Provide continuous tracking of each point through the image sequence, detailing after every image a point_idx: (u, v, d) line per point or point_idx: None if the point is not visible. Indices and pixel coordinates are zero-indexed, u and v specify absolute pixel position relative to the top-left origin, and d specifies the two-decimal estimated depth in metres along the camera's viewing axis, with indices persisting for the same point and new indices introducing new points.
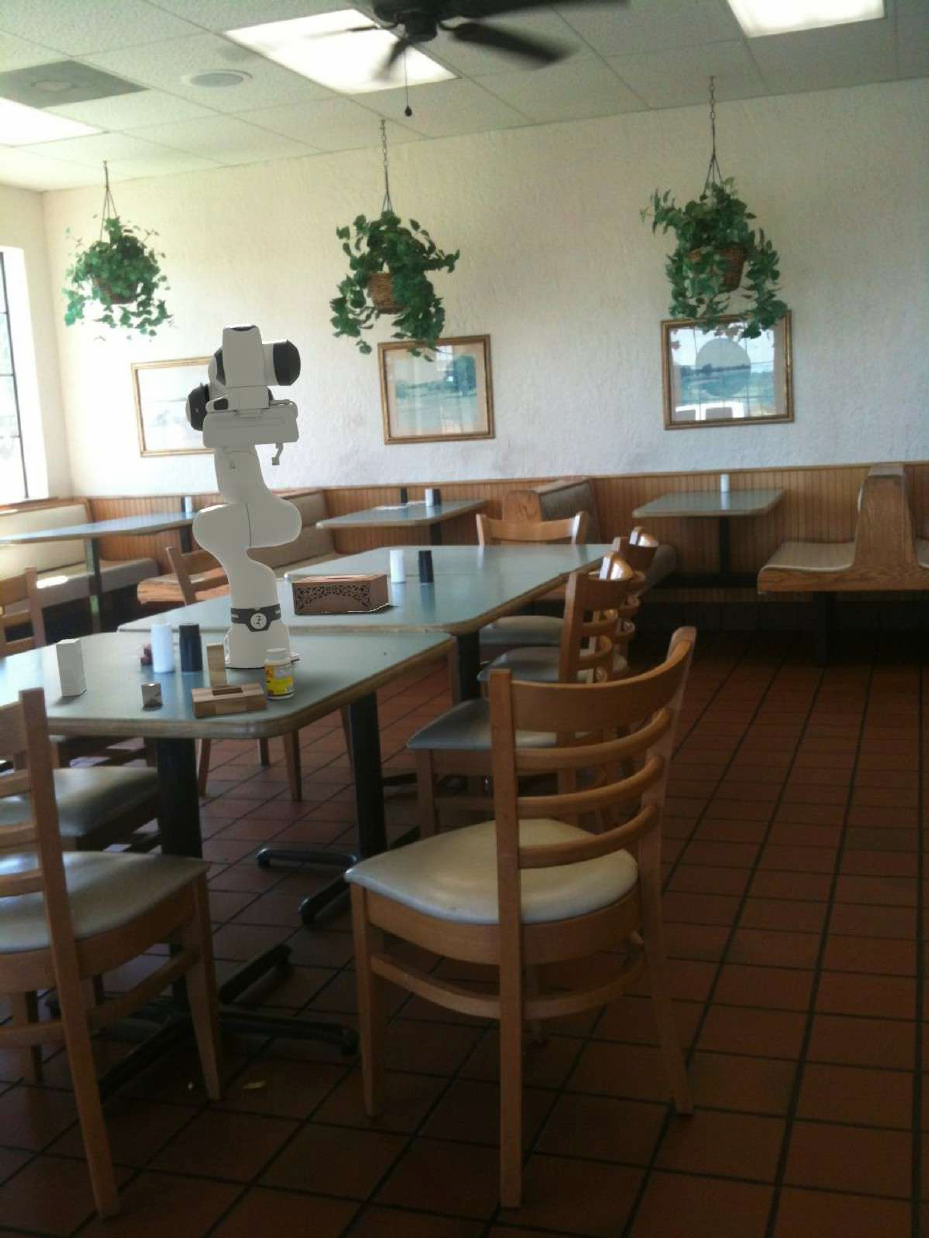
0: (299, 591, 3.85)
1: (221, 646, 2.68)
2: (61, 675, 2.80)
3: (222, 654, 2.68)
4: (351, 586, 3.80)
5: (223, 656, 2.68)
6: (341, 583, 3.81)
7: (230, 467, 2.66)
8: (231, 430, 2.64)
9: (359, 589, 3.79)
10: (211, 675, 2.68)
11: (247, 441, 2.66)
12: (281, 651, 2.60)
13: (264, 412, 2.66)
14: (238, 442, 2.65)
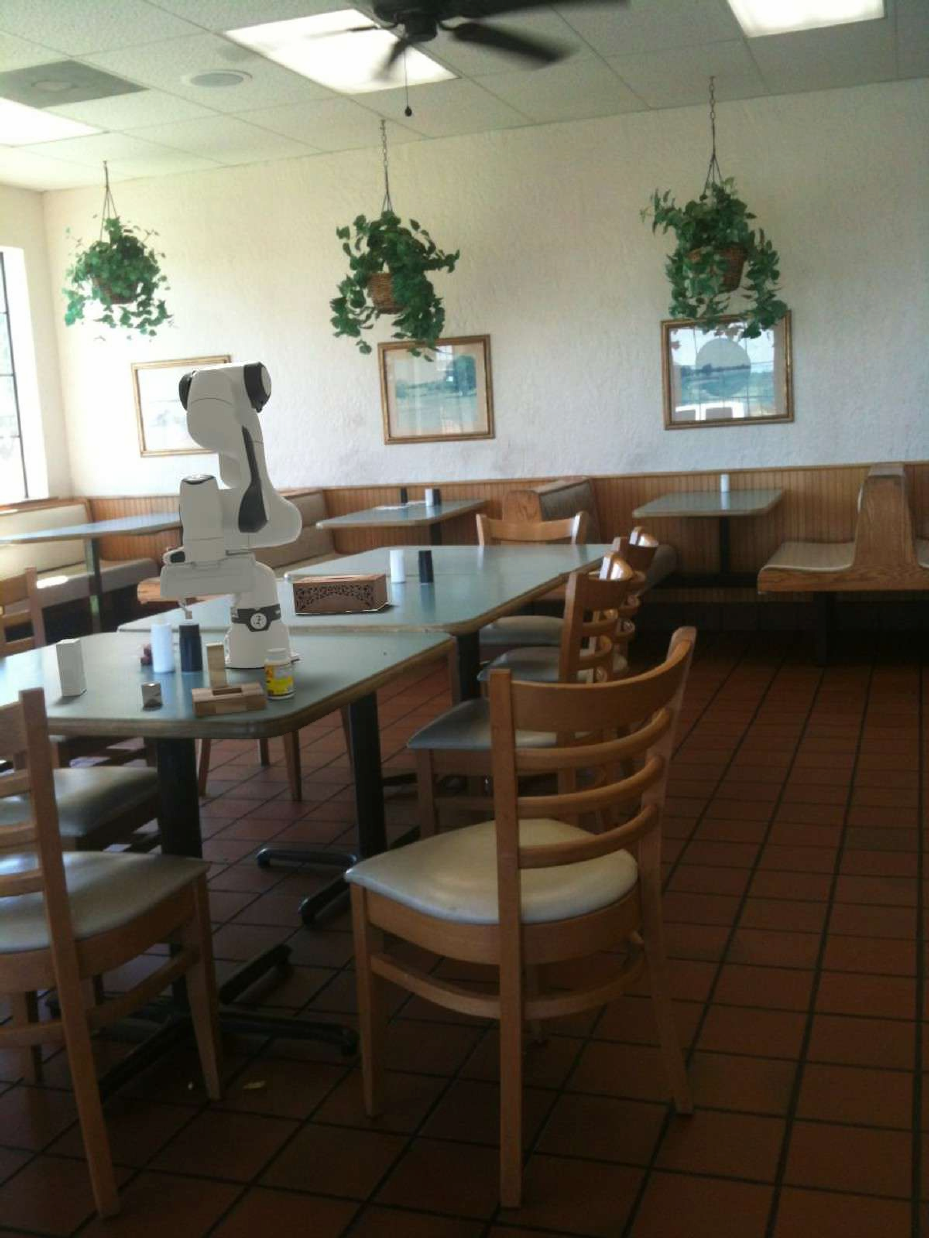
0: (300, 591, 3.84)
1: (221, 646, 2.68)
2: (61, 675, 2.80)
3: (222, 654, 2.68)
4: (354, 586, 3.80)
5: (223, 656, 2.68)
6: (344, 582, 3.81)
7: (188, 617, 2.66)
8: (188, 582, 2.64)
9: (362, 588, 3.80)
10: (211, 675, 2.68)
11: (204, 592, 2.65)
12: (281, 651, 2.60)
13: (221, 563, 2.65)
14: (195, 593, 2.64)
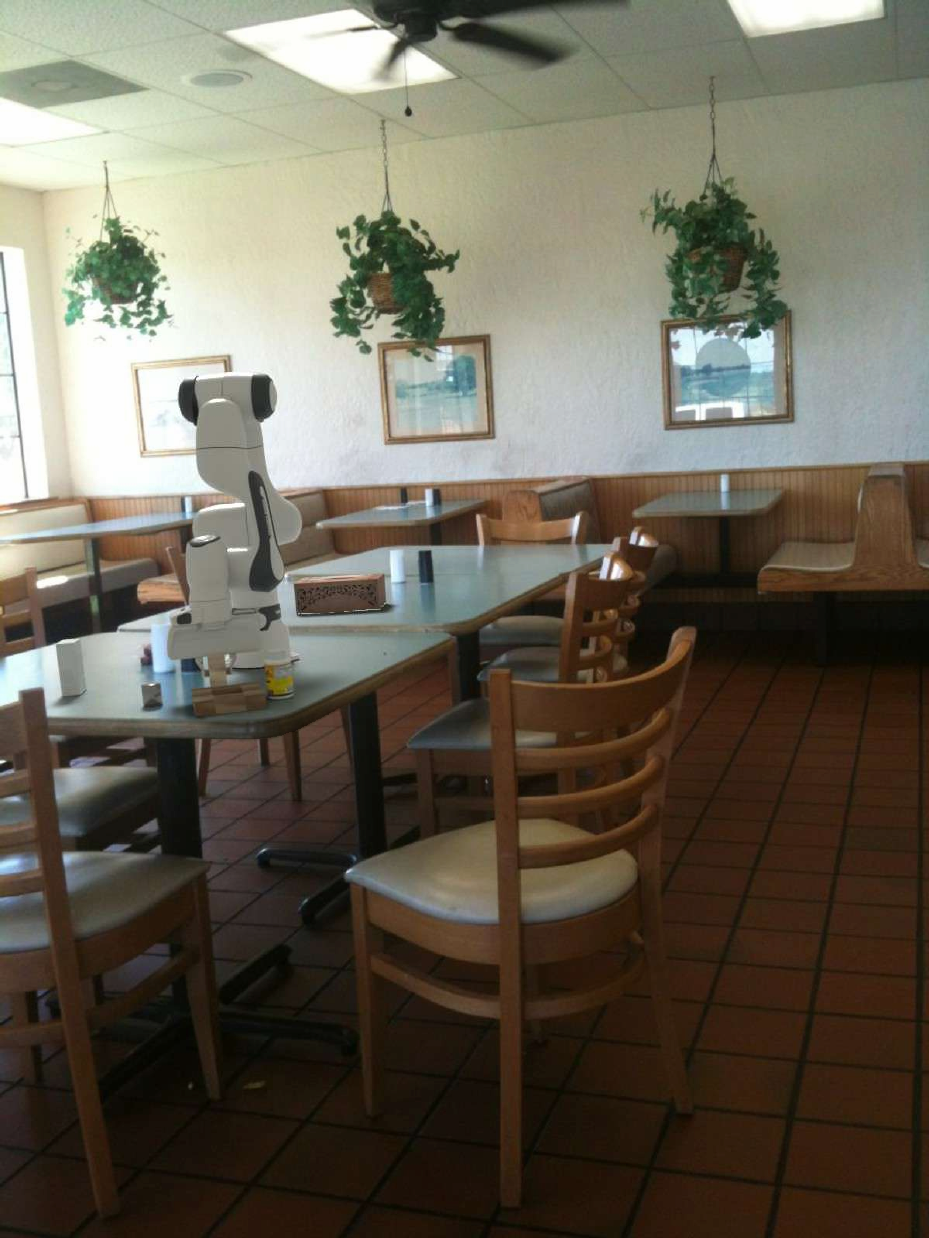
0: (301, 592, 3.82)
1: None
2: (61, 675, 2.80)
3: (222, 654, 2.68)
4: (357, 585, 3.81)
5: (223, 656, 2.68)
6: (347, 582, 3.81)
7: (205, 676, 2.68)
8: (194, 642, 2.66)
9: (365, 588, 3.81)
10: (211, 675, 2.68)
11: (211, 652, 2.67)
12: (281, 651, 2.60)
13: (228, 623, 2.67)
14: (202, 653, 2.67)
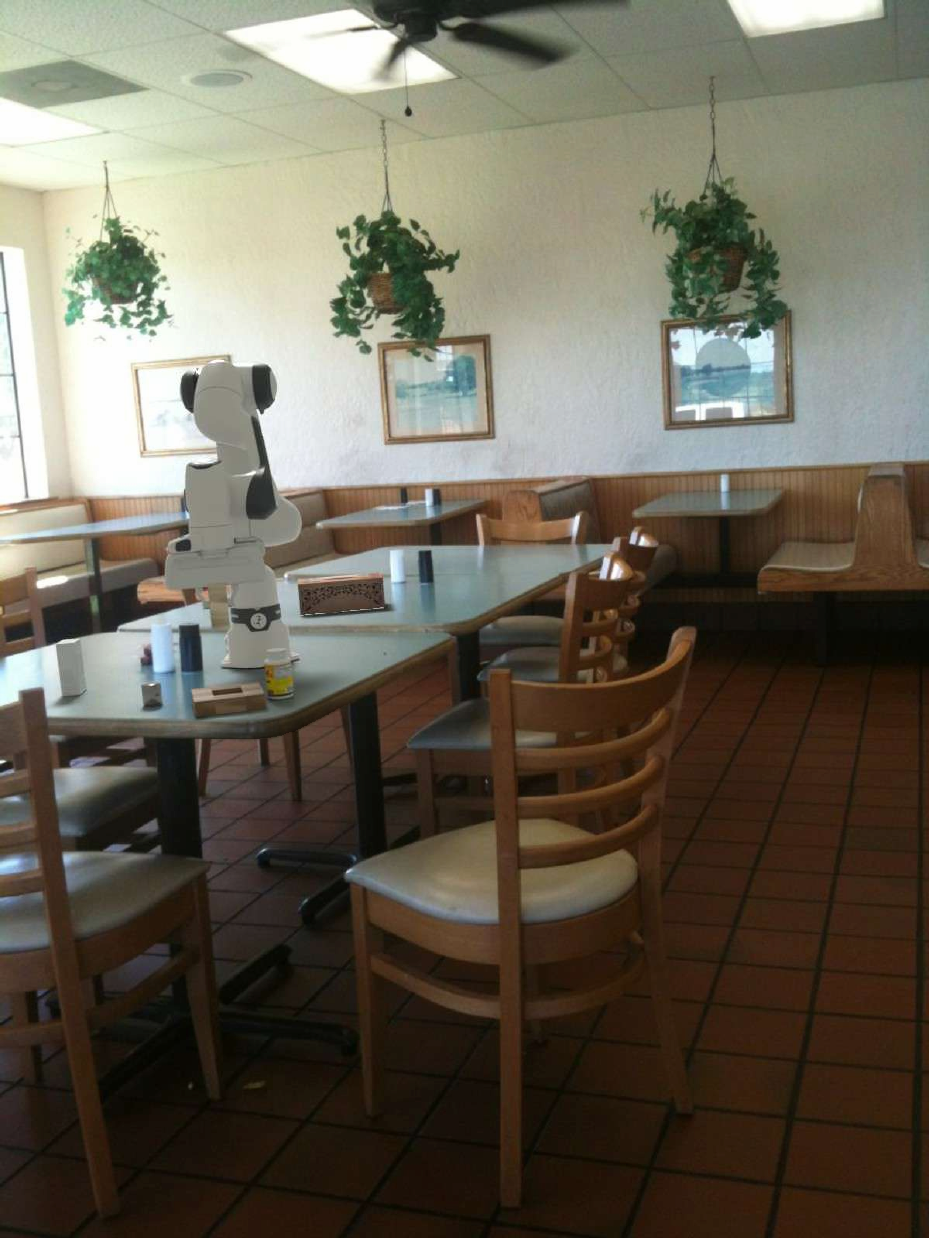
0: (306, 592, 3.80)
1: None
2: (61, 675, 2.80)
3: (223, 584, 2.53)
4: (362, 584, 3.82)
5: (224, 586, 2.53)
6: (352, 581, 3.82)
7: (205, 607, 2.54)
8: (194, 571, 2.51)
9: (371, 586, 3.83)
10: (212, 606, 2.53)
11: (211, 582, 2.52)
12: (281, 651, 2.60)
13: (229, 551, 2.53)
14: (202, 583, 2.52)
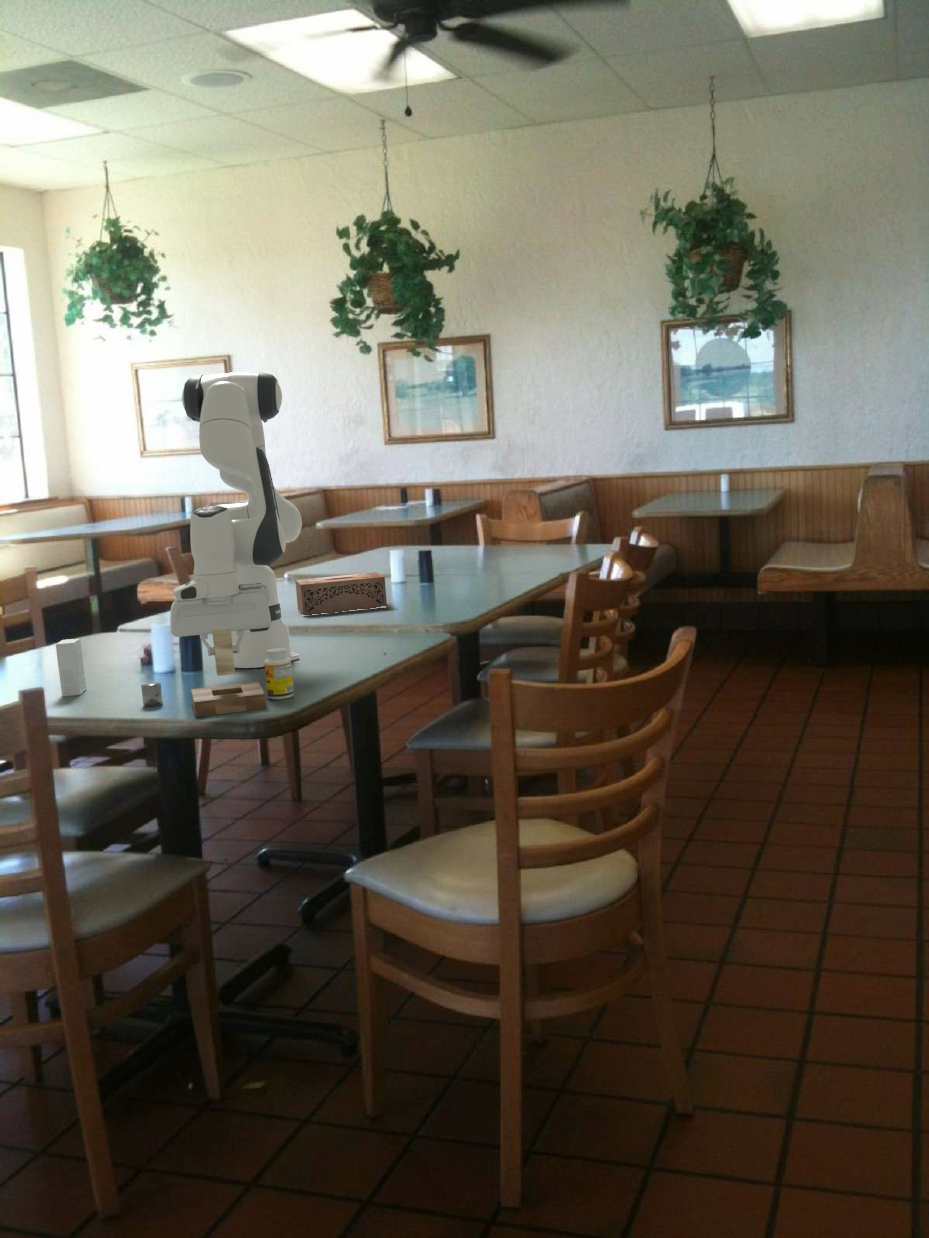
0: (308, 593, 3.79)
1: None
2: (61, 675, 2.80)
3: (228, 631, 2.54)
4: (364, 584, 3.83)
5: (229, 633, 2.55)
6: (354, 581, 3.82)
7: (210, 654, 2.55)
8: (199, 618, 2.53)
9: (373, 586, 3.84)
10: (217, 653, 2.54)
11: (216, 629, 2.54)
12: (281, 651, 2.60)
13: (234, 598, 2.54)
14: (207, 630, 2.53)
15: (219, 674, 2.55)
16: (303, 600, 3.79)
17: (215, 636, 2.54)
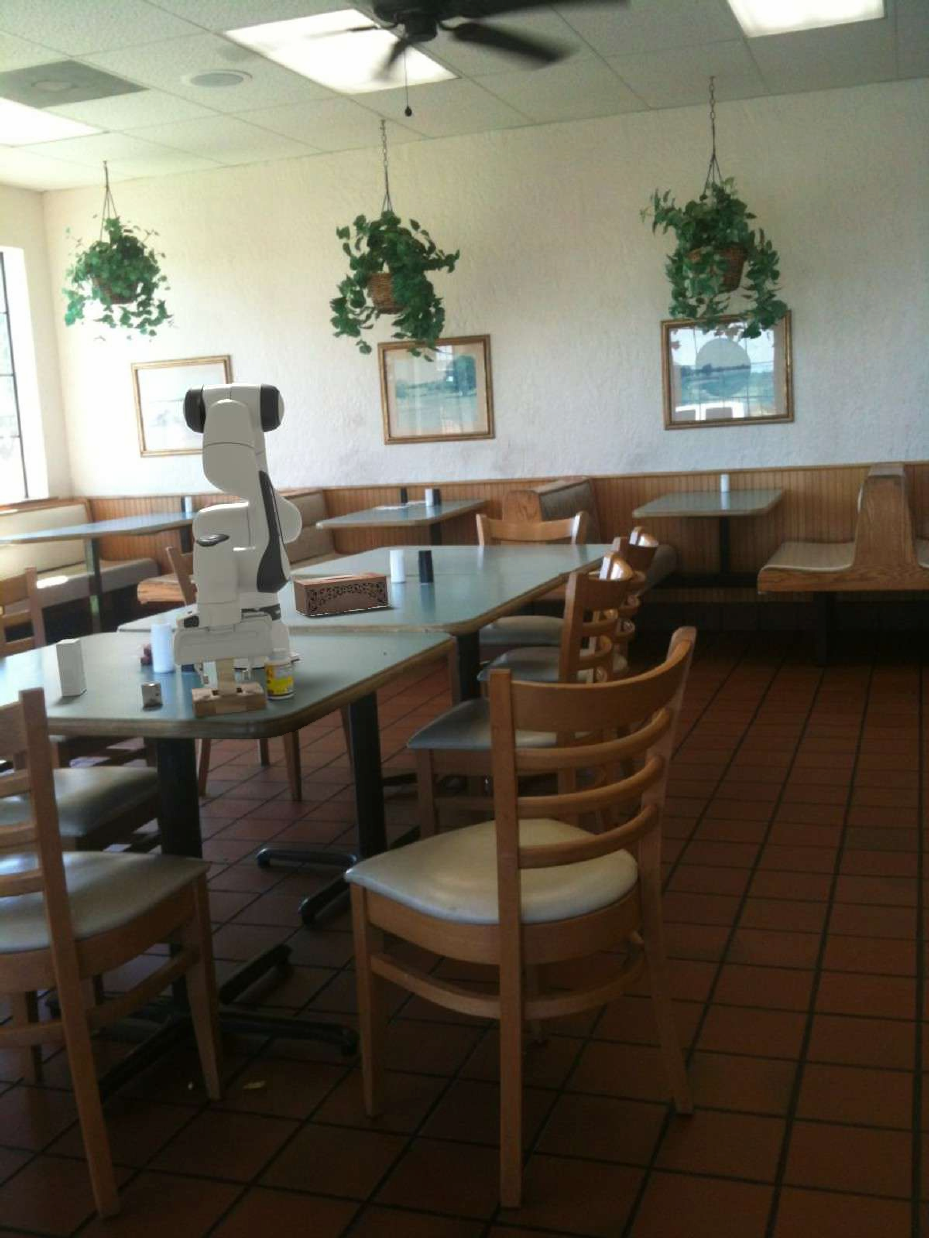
0: (312, 593, 3.78)
1: None
2: (61, 675, 2.80)
3: (231, 663, 2.56)
4: (367, 583, 3.84)
5: (232, 666, 2.56)
6: (357, 581, 3.83)
7: (204, 682, 2.56)
8: (202, 646, 2.54)
9: (375, 585, 3.85)
10: (220, 685, 2.56)
11: (219, 657, 2.55)
12: (281, 651, 2.60)
13: (237, 626, 2.55)
14: (210, 658, 2.54)
15: None
16: (307, 600, 3.78)
17: (218, 669, 2.55)
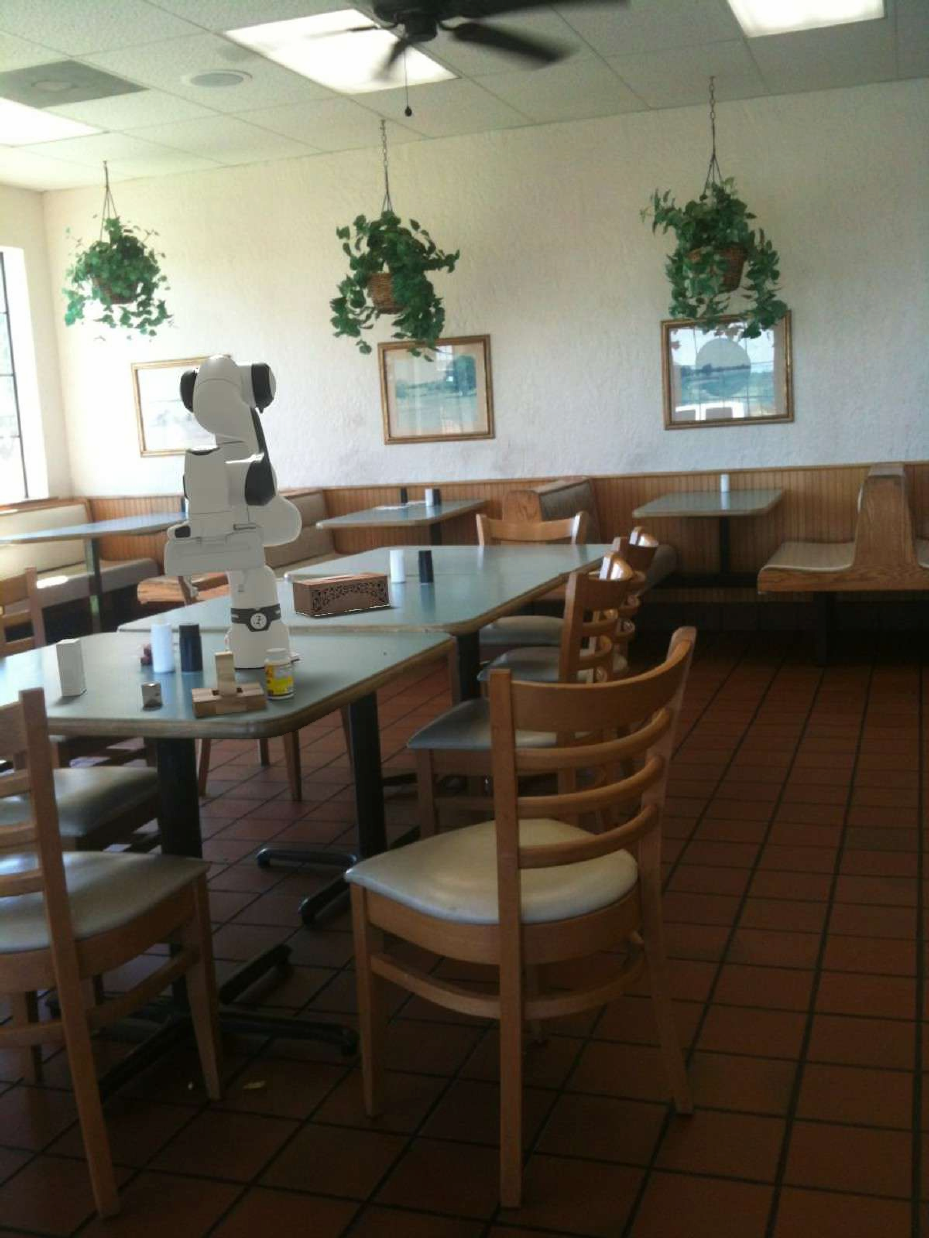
0: (316, 593, 3.78)
1: (230, 655, 2.55)
2: (61, 675, 2.80)
3: (231, 663, 2.56)
4: (368, 583, 3.85)
5: (232, 666, 2.56)
6: (359, 580, 3.84)
7: (193, 595, 2.53)
8: (193, 558, 2.51)
9: (376, 585, 3.86)
10: (220, 685, 2.56)
11: (211, 569, 2.52)
12: (281, 651, 2.60)
13: (229, 538, 2.52)
14: (201, 570, 2.52)
15: None
16: (311, 600, 3.77)
17: (218, 669, 2.55)
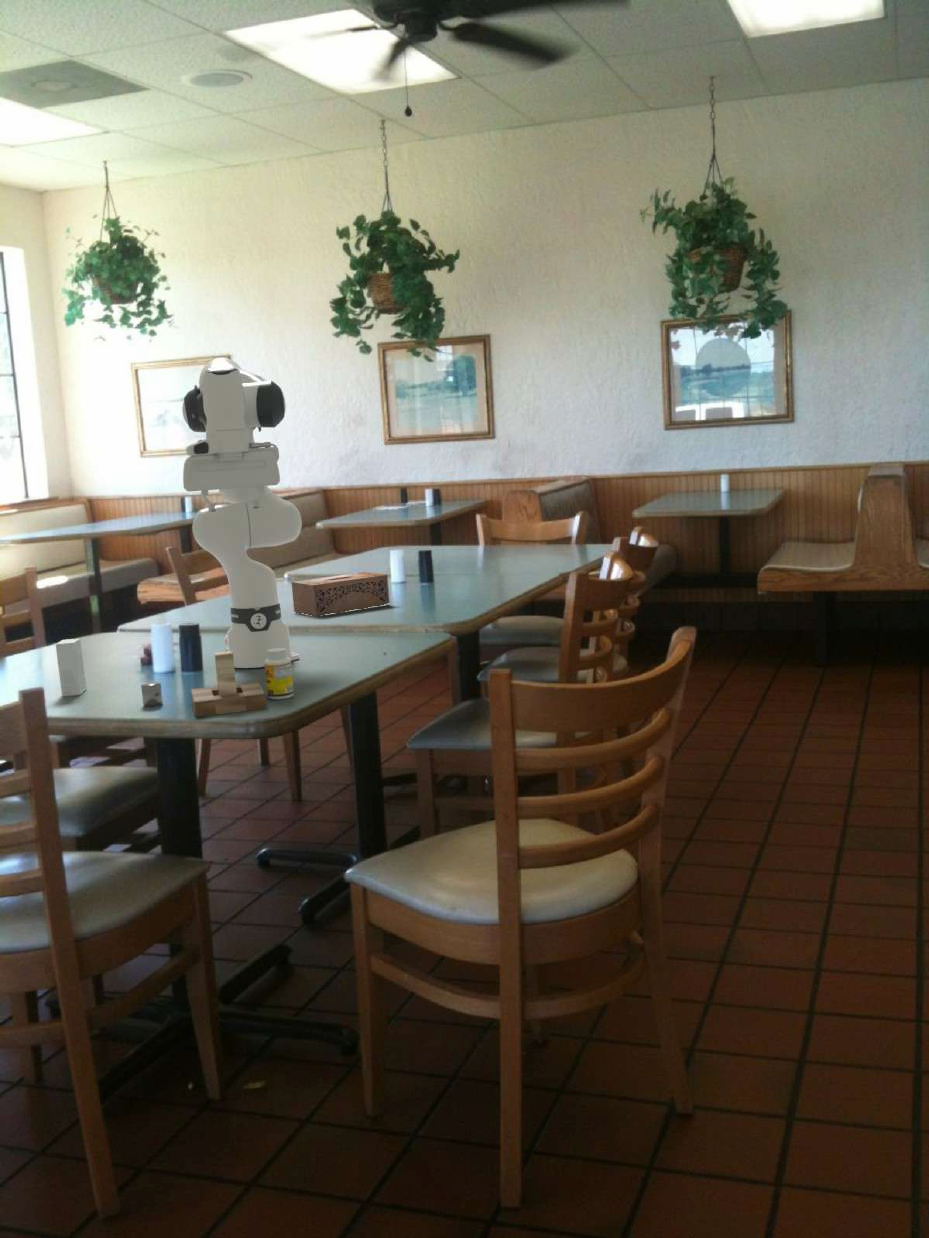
0: (320, 593, 3.77)
1: (230, 655, 2.55)
2: (61, 675, 2.80)
3: (231, 663, 2.56)
4: (370, 582, 3.86)
5: (232, 666, 2.56)
6: (361, 580, 3.84)
7: (211, 510, 2.65)
8: (211, 474, 2.63)
9: (377, 584, 3.88)
10: (220, 685, 2.56)
11: (228, 485, 2.64)
12: (281, 651, 2.60)
13: (245, 455, 2.65)
14: (219, 485, 2.64)
15: None
16: (315, 600, 3.76)
17: (218, 669, 2.55)
